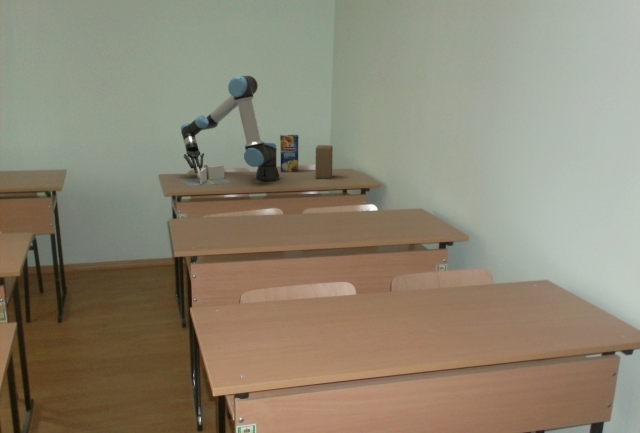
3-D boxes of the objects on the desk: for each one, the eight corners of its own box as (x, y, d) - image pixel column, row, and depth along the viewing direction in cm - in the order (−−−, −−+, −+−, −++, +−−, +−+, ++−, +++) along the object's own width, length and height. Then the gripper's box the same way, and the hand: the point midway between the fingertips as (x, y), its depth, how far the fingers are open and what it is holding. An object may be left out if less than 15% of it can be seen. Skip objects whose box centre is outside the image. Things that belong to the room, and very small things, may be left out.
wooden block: (332, 176, 407) (332, 145, 402) (331, 178, 397) (331, 147, 392) (317, 175, 408) (317, 145, 403) (315, 178, 398) (315, 147, 393)
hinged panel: (204, 179, 388) (204, 167, 387) (206, 179, 388) (206, 167, 386) (200, 183, 376) (199, 171, 374) (201, 183, 376) (201, 171, 374)
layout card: (220, 177, 401) (220, 176, 401) (232, 183, 382) (232, 182, 382) (178, 180, 389) (178, 179, 389) (188, 187, 370) (188, 186, 370)
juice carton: (298, 170, 427) (298, 134, 421) (298, 172, 420) (298, 136, 414) (280, 170, 426) (280, 134, 420) (280, 172, 419) (280, 136, 413)
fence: (223, 177, 396) (223, 163, 394) (224, 178, 394) (224, 164, 392) (204, 179, 390) (203, 165, 388) (205, 180, 389) (204, 165, 386)
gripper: (200, 149, 395) (208, 179, 385) (180, 149, 390) (188, 181, 379) (202, 141, 390) (211, 172, 379) (182, 142, 384) (190, 173, 374)
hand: (199, 176), depth 379 cm, fingers closed
